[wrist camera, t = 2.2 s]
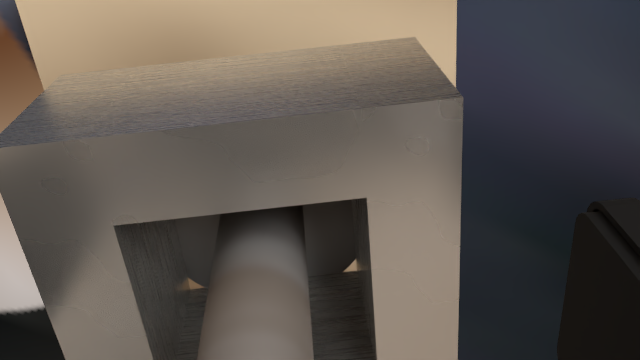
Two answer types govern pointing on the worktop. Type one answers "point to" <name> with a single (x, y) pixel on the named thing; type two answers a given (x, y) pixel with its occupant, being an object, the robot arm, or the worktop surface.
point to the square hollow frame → (242, 193)
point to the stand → (256, 225)
